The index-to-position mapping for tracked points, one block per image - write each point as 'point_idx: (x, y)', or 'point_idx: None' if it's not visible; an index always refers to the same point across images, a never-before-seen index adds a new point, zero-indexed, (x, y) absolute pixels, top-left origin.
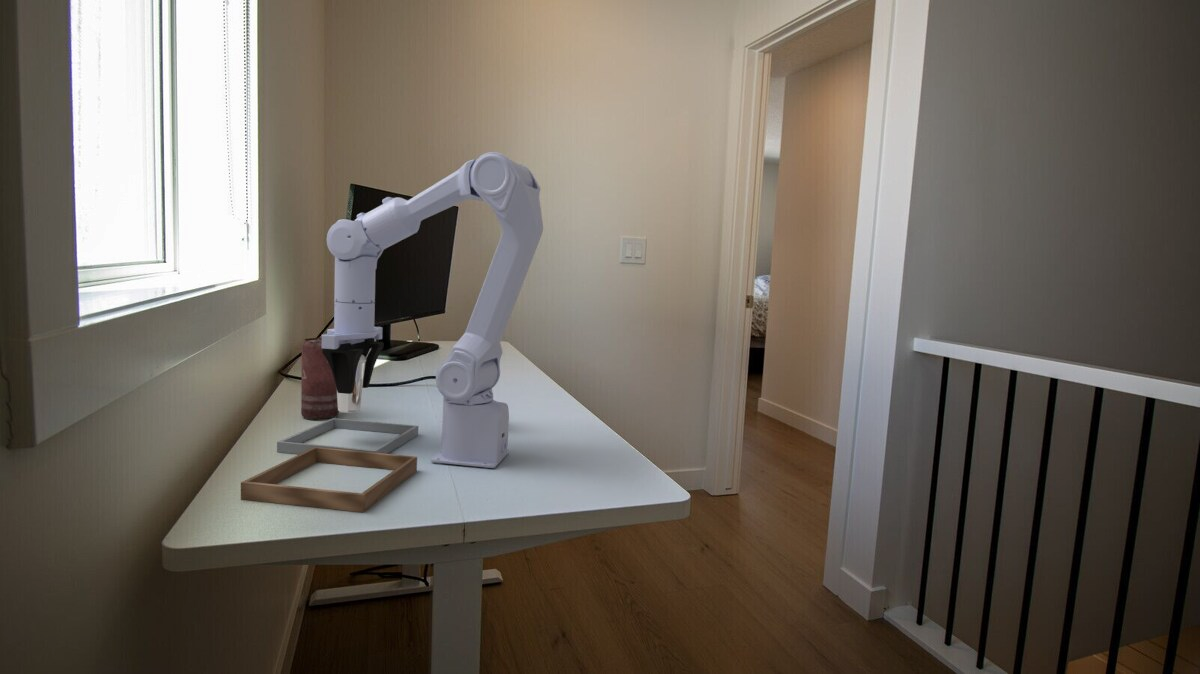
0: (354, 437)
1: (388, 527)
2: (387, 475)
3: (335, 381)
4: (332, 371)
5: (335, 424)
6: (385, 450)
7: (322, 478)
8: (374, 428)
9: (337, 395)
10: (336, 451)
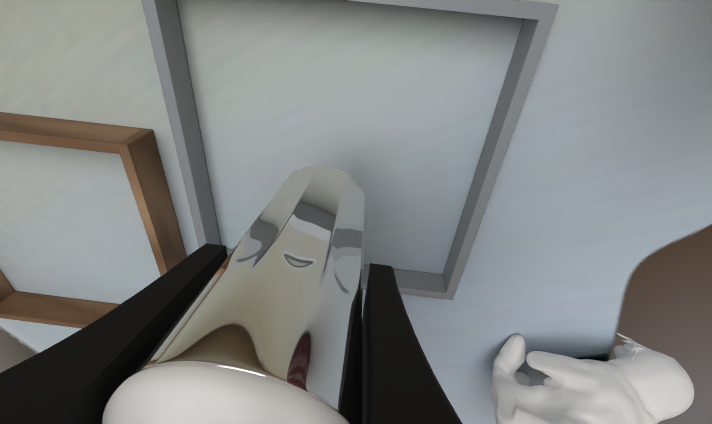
0: (397, 143)
1: (3, 326)
2: (76, 324)
3: (160, 279)
4: (91, 325)
5: (528, 24)
6: None
7: (73, 195)
8: (476, 182)
9: (265, 207)
10: (140, 205)
